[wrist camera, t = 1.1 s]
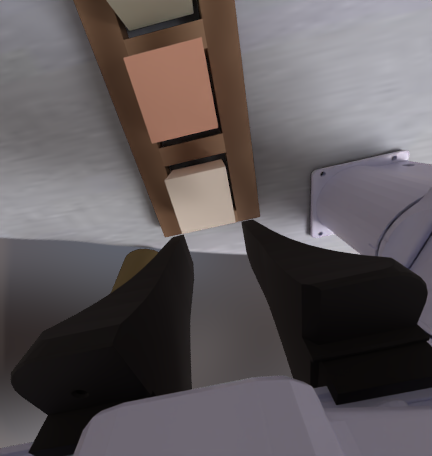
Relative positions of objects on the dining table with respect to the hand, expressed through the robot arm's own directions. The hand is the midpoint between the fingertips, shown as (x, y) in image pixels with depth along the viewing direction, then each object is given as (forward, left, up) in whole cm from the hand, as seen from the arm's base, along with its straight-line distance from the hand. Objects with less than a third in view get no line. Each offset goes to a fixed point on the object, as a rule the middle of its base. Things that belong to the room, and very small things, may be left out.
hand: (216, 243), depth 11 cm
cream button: (+1, -1, -9) cm, 9 cm away
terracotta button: (+1, -8, -9) cm, 12 cm away
